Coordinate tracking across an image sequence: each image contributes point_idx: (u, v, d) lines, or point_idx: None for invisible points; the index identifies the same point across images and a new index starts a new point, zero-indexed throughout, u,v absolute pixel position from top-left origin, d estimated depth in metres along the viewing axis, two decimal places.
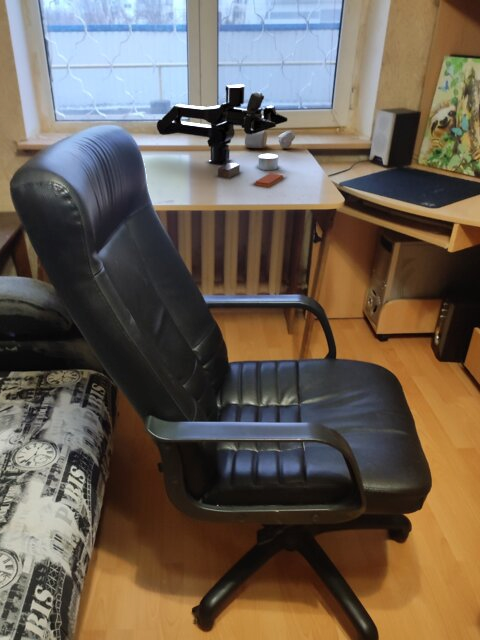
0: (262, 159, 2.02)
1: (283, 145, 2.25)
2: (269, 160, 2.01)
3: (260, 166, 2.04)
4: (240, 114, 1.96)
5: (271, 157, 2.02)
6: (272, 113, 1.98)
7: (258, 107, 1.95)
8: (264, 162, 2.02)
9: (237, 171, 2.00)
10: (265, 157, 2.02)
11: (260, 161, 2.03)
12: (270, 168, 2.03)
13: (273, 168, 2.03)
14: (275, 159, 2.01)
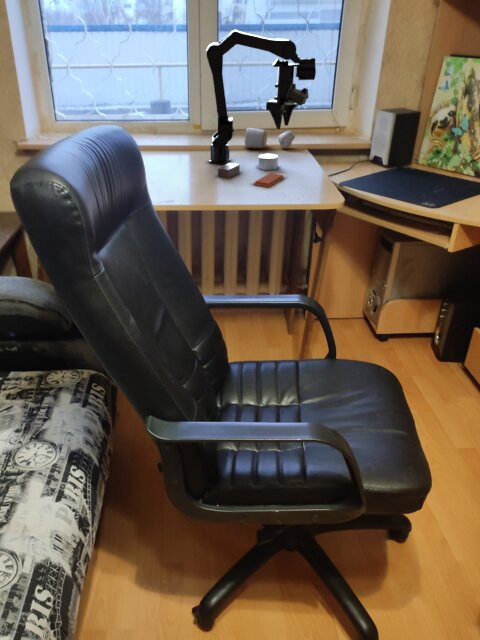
0: (262, 159, 2.02)
1: (283, 145, 2.25)
2: (269, 160, 2.01)
3: (260, 166, 2.04)
4: (286, 83, 1.94)
5: (271, 157, 2.02)
6: (291, 107, 2.04)
7: None
8: (264, 162, 2.02)
9: (237, 171, 2.00)
10: (265, 157, 2.02)
11: (260, 161, 2.03)
12: (270, 168, 2.03)
13: (273, 168, 2.03)
14: (275, 159, 2.01)
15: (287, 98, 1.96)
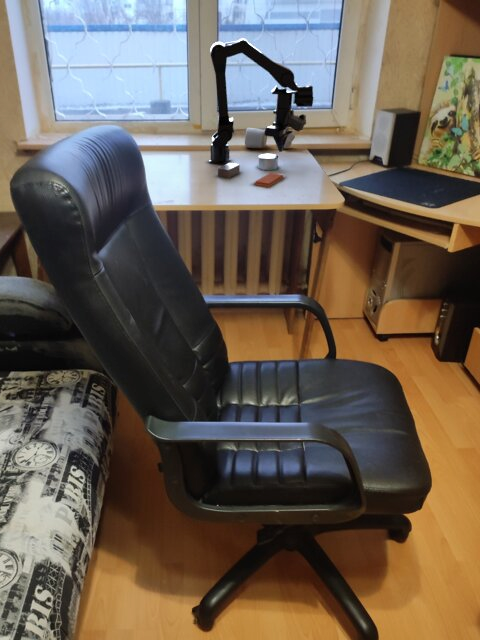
0: (262, 159, 2.02)
1: None
2: (269, 160, 2.01)
3: (260, 166, 2.04)
4: (284, 109, 2.00)
5: (271, 157, 2.02)
6: None
7: None
8: (264, 162, 2.02)
9: (237, 171, 2.00)
10: (265, 157, 2.02)
11: (260, 161, 2.03)
12: (270, 168, 2.03)
13: (273, 168, 2.03)
14: (275, 159, 2.01)
15: (285, 124, 2.02)
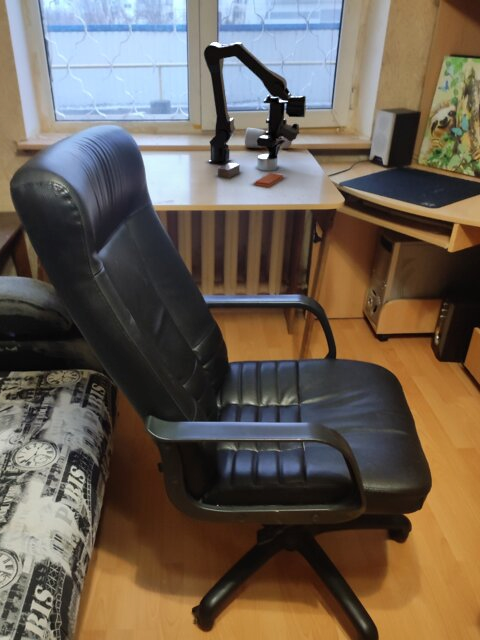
0: (261, 159, 2.01)
1: (283, 145, 2.25)
2: (268, 160, 2.00)
3: (259, 166, 2.03)
4: (277, 119, 1.97)
5: (270, 157, 2.01)
6: None
7: None
8: (263, 162, 2.01)
9: (237, 171, 2.00)
10: (264, 157, 2.02)
11: (259, 161, 2.02)
12: (269, 168, 2.02)
13: (272, 168, 2.02)
14: (274, 159, 2.01)
15: (278, 134, 1.99)
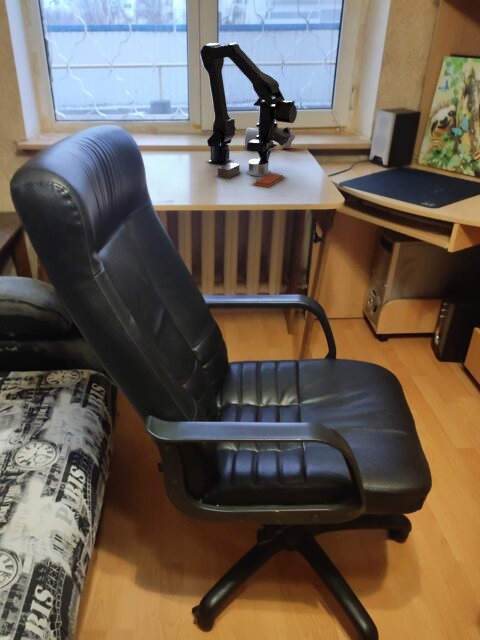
0: (252, 164, 1.96)
1: (283, 145, 2.25)
2: (259, 165, 1.95)
3: (250, 172, 1.98)
4: (267, 123, 1.92)
5: (261, 162, 1.96)
6: None
7: None
8: (254, 168, 1.96)
9: (237, 171, 2.00)
10: (255, 162, 1.97)
11: (250, 166, 1.97)
12: (260, 174, 1.97)
13: (263, 174, 1.97)
14: (265, 164, 1.96)
15: (269, 138, 1.94)
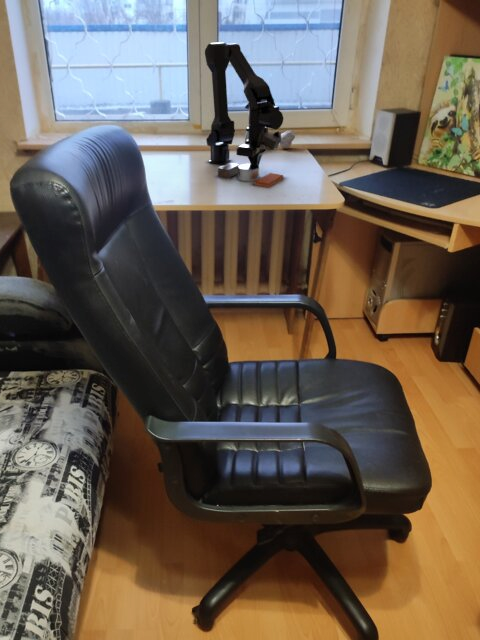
0: (242, 170, 1.91)
1: (283, 145, 2.25)
2: (249, 171, 1.90)
3: (240, 177, 1.93)
4: (257, 127, 1.87)
5: (251, 168, 1.91)
6: None
7: None
8: (244, 173, 1.91)
9: (237, 171, 2.00)
10: (245, 168, 1.92)
11: (240, 172, 1.92)
12: (250, 179, 1.92)
13: (253, 179, 1.93)
14: (255, 170, 1.91)
15: (259, 142, 1.89)
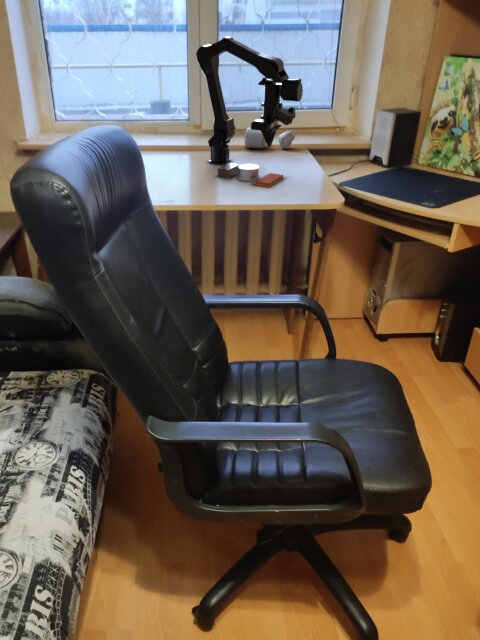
0: (242, 170, 1.91)
1: (283, 145, 2.25)
2: (249, 171, 1.90)
3: (240, 177, 1.93)
4: (272, 102, 1.90)
5: (251, 168, 1.91)
6: (274, 128, 1.97)
7: None
8: (244, 173, 1.91)
9: (237, 171, 2.00)
10: (245, 168, 1.92)
11: (240, 172, 1.92)
12: (250, 179, 1.92)
13: (253, 179, 1.93)
14: (255, 170, 1.91)
15: (273, 117, 1.92)
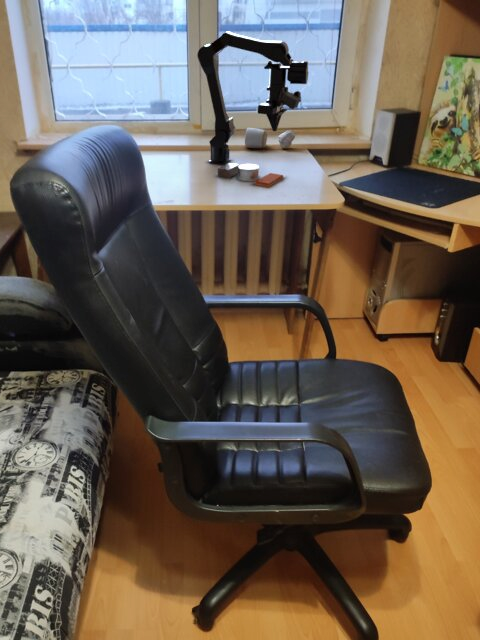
0: (242, 170, 1.91)
1: (283, 145, 2.25)
2: (249, 171, 1.90)
3: (240, 177, 1.93)
4: (278, 86, 1.90)
5: (251, 168, 1.91)
6: None
7: None
8: (244, 173, 1.91)
9: (237, 171, 2.00)
10: (245, 168, 1.92)
11: (240, 172, 1.92)
12: (250, 179, 1.92)
13: (253, 179, 1.93)
14: (255, 170, 1.91)
15: (279, 101, 1.92)
